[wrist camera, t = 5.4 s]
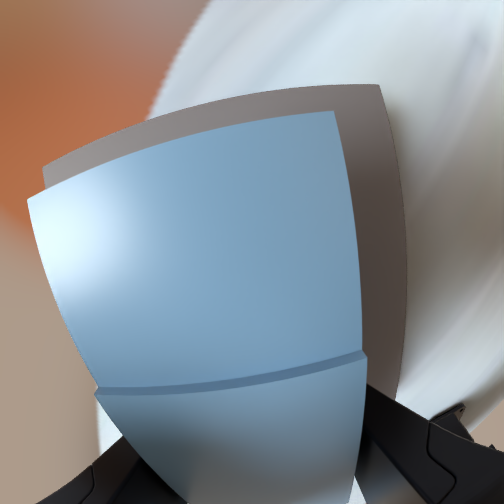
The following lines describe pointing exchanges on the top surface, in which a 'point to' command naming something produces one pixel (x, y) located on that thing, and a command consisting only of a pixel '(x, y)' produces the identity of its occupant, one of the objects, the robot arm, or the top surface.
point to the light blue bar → (220, 307)
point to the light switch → (360, 182)
